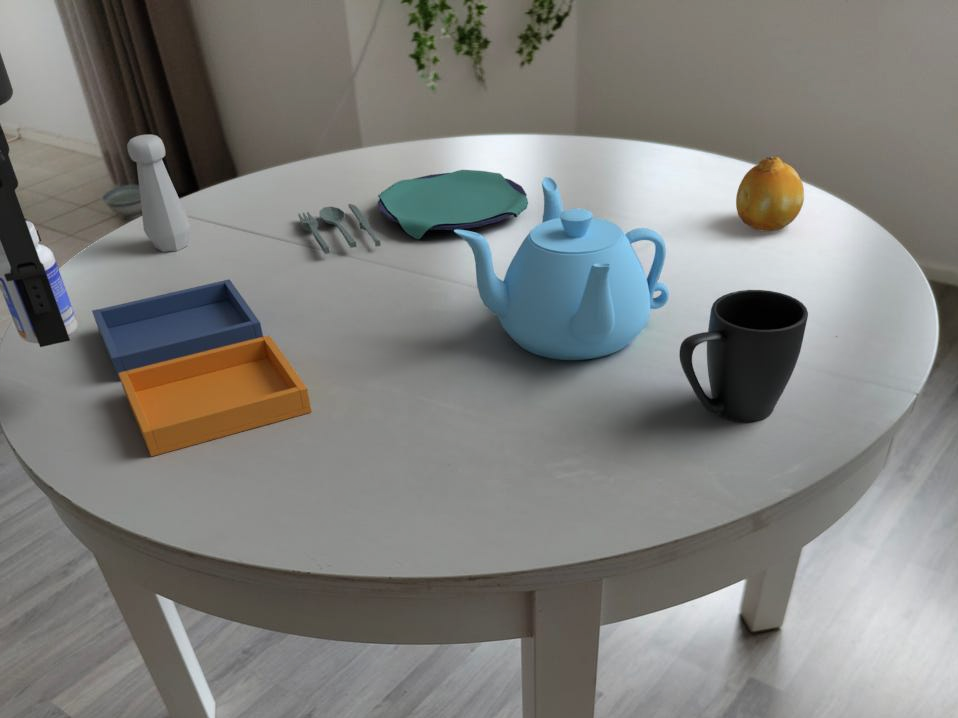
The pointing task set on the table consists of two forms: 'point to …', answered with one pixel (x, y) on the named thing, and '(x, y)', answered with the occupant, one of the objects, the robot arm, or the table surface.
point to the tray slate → (175, 325)
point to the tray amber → (213, 394)
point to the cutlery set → (435, 204)
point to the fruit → (770, 195)
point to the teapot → (572, 283)
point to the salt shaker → (158, 196)
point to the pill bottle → (56, 283)
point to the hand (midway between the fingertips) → (50, 328)
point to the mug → (747, 352)
